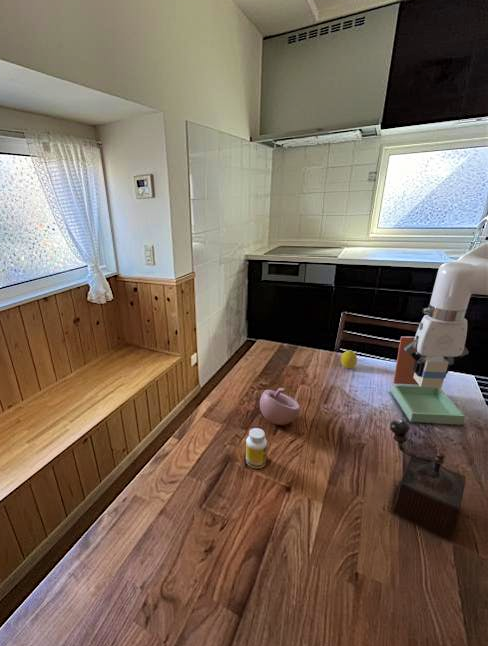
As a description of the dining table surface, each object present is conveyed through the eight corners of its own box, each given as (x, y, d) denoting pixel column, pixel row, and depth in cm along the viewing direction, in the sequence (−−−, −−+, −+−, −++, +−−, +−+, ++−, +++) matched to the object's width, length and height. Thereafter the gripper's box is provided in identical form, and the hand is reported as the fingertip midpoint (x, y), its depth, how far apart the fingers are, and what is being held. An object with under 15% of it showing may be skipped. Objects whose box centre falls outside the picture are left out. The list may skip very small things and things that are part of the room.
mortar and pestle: (307, 424, 103) (310, 393, 98) (275, 438, 98) (277, 406, 94) (281, 404, 113) (282, 375, 108) (251, 416, 108) (252, 386, 104)
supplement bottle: (266, 470, 88) (267, 441, 84) (245, 468, 89) (245, 439, 85) (266, 455, 93) (267, 426, 89) (246, 453, 94) (246, 425, 90)
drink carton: (433, 378, 95) (440, 353, 92) (441, 388, 91) (449, 362, 87) (413, 377, 96) (419, 352, 93) (420, 387, 92) (427, 361, 88)
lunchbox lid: (450, 338, 104) (448, 337, 105) (401, 337, 107) (400, 336, 107) (439, 385, 109) (438, 384, 110) (393, 383, 112) (393, 382, 113)
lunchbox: (461, 426, 98) (465, 416, 96) (409, 423, 100) (412, 413, 99) (435, 395, 112) (438, 386, 110) (391, 393, 114) (393, 384, 113)
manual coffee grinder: (456, 504, 75) (479, 442, 68) (449, 541, 68) (474, 477, 61) (380, 471, 85) (393, 414, 78) (367, 500, 78) (380, 440, 70)
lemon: (341, 371, 129) (343, 353, 125) (338, 364, 134) (341, 346, 130) (356, 372, 127) (359, 354, 124) (353, 365, 132) (356, 347, 129)
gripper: (414, 317, 83) (399, 380, 91) (494, 318, 80) (472, 383, 87) (403, 307, 90) (390, 366, 97) (476, 307, 86) (457, 369, 94)
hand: (429, 373), depth 92 cm, fingers closed on drink carton, 5 cm apart
